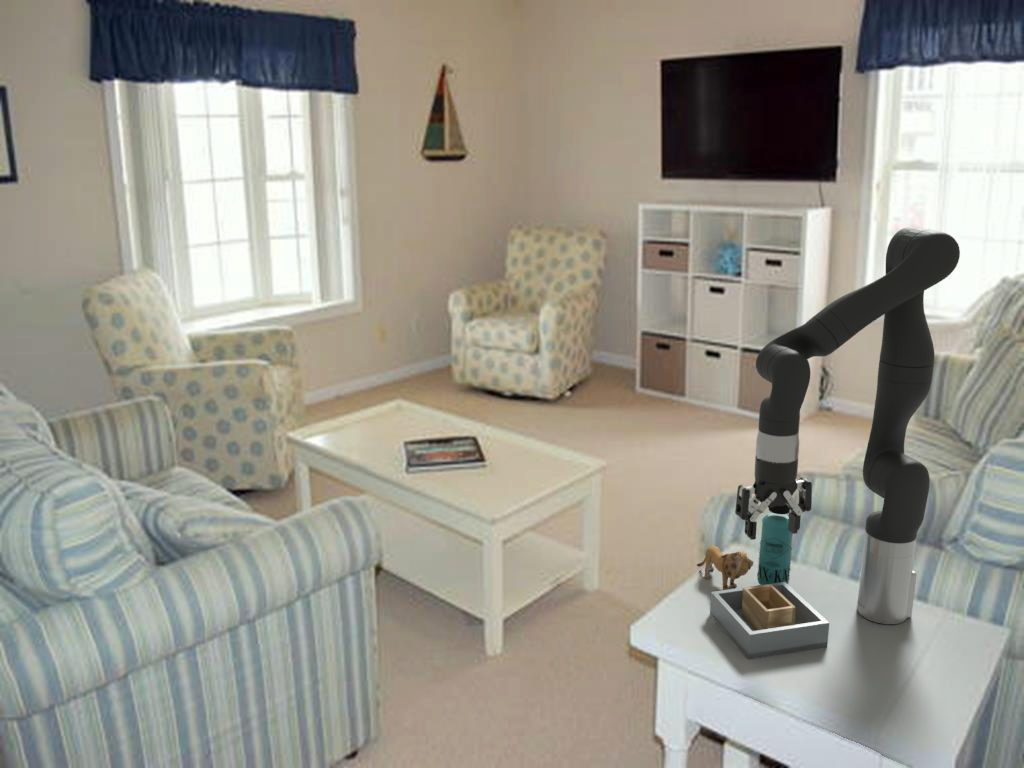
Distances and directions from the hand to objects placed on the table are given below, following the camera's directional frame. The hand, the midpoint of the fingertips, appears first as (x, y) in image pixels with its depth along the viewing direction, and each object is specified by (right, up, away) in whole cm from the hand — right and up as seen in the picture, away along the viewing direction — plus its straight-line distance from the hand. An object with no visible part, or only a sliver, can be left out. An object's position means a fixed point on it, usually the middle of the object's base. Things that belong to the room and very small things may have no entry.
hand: (771, 534), depth 171 cm
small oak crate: (0, -18, +4) cm, 19 cm away
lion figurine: (-4, -14, +23) cm, 27 cm away
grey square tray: (0, -19, +5) cm, 20 cm away
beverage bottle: (+6, -15, +20) cm, 25 cm away
